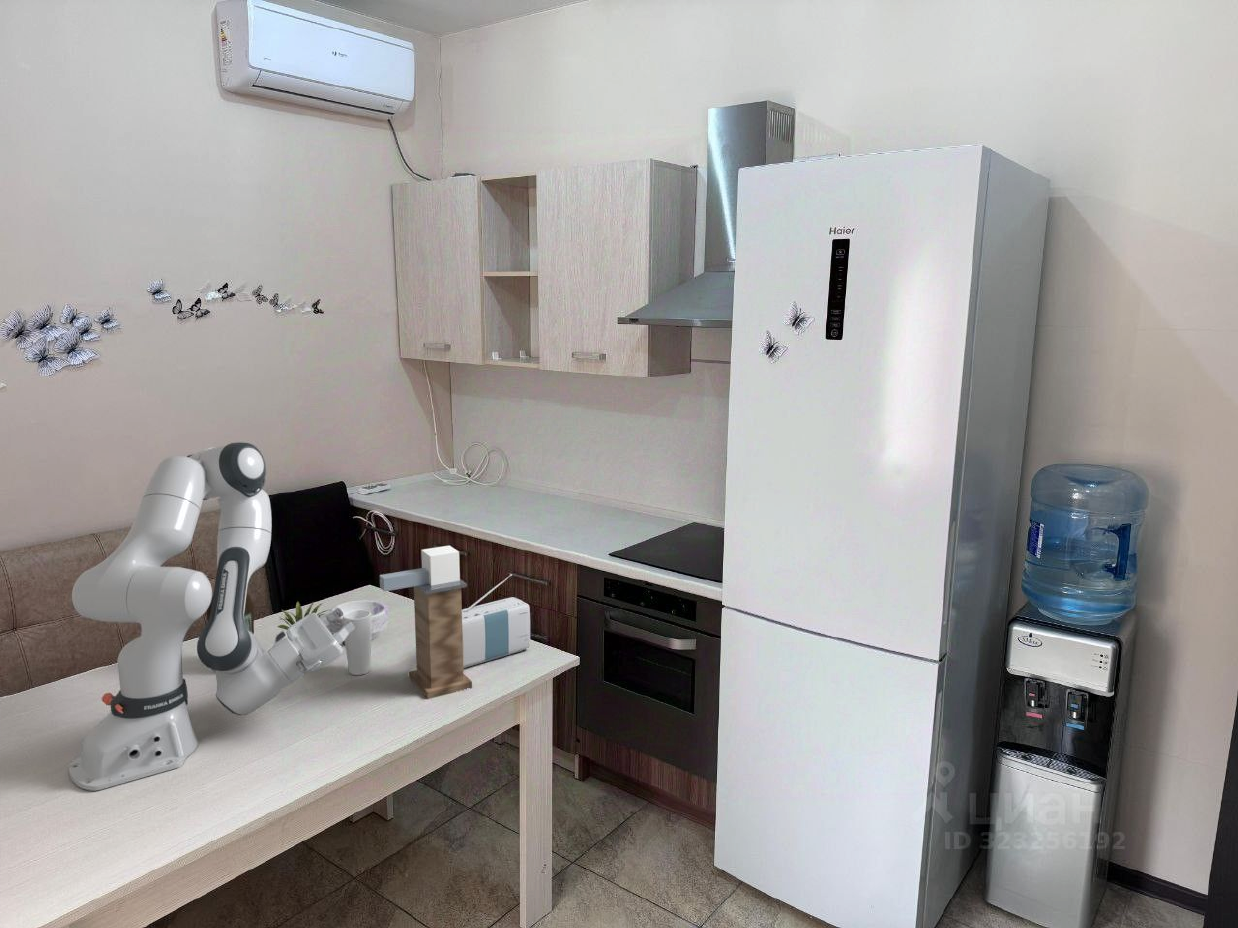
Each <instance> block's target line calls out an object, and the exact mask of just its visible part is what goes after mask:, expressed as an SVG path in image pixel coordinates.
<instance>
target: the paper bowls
mask: <svg viewBox="0 0 1238 928" xmlns="http://www.w3.org/2000/svg"><path fill="white" fill-rule="evenodd" d="M336 608H340V609H341V611H342V612H343V615H344V614H345V613H346V612H349V611H352V610H367V611H370V612H371V619H372V640H373V639H375V638H376V637H378V636H379V635H380V633H381V631H383V630H385V629H386V627H387V626H388V623H389V622H388V621H389V617H388V615H389V609H388V606H387V605H386V604H384V603H382V602H380V601H376V600H369V599H368V600H367V599H366V600H365V599H364V600H363V599H360V600H352V601H345V602H341V603H338V604H337V605H335V606H333V607H332V608H331V609H329V612H332V611H333V610H335V609H336ZM332 609H333V610H332ZM329 628H330V629H329V630H330V632H331V633H333V634H335V633H336V632H337V633H338V632H339V631H340V630H341V629H342V628H343V616H341V617H340V618H339V619H337V618H336V619H334V620H333V621H331V622H330V624H329ZM343 642H345V640H344V641H343Z"/></svg>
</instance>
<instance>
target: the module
mask: <svg viewBox="0 0 1238 928" xmlns="http://www.w3.org/2000/svg"><path fill="white" fill-rule="evenodd" d="M420 553H421V554H420V555H421V568H415V569H409V570H408V569H407V570H403V571H398V572H396V571H395V572H392V573H391V572H390V573H385V574H384V573H383V574H380V575H379V588H380V589H381V590H382V591H383V592H389V591H394V590H395V591H396V590H400V589H406V588H407V589H408V588H412V587H413V588H414V586H418V585H424V584H430V585H437V584H442V583H448V582H454V581H459V580H460V579H461V578H460V577H461V574H460V573H461V572H460V551H459V550H457V549H455V548H454V547H453V546H451V545H449V544H448V545H444V546H437V547H431V548H430V547H429V548H424V549H421V552H420Z"/></svg>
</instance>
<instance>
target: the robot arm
mask: <svg viewBox="0 0 1238 928" xmlns="http://www.w3.org/2000/svg"><path fill="white" fill-rule="evenodd" d="M266 469H267V468H266V461H265V457H264V455H263V454H262V452H261V451H260V450H259V448H257V446H256V445H254V444H252V443H249V442H242V441H241V442H237V441H236V442H230V443H228V444H226V445H225V444H224V445H220V446H215V447H209V448H206V449H204V450H203V449H202V450H201V451H198V452H196V453H193V454H188V455H187V456H185V455H173V456H168V457H166V458H165V459H163V460H162V461H160V462H159V464H158V465H157V467H156V469H155V470H154V472H153V474H152V476H151V478H150V479H149V481H148V483H147V486H146V488H145V491H144V493H143V495H142V498H141V501H140V504H139V507H138V510H137V512H136V515H135V518H134V520H133V523H132V525H131V528H130V530H129V531H128V533H127V535H126V536H125V538H124V540H123V541H122V542H121V543H120V544H119V546H118V547H117V548H116V549H115V550H113V552H111V554H110V555H109V556H107V557H106V558H105V559H104V560H103V561H101V562H100V563H98V564H96V565H95V566H93V567H90V568H89V569H87V570H85V571H84V572H83V573H81V574H80V576H79V577H78V578H77V579H76V581H75V583H74V585H73V587H72V590H71V600H72V604H73V605H72V606H74V609H75V611H76V612H77V614H78V615H79V616H81V617H83V618H87V619H90V620H95V621H99V622H104V623H137V624H140V627H141V634H140V636H138V637H136V638H134V639H132V640H131V641H128V643H126V644H125V645H124V646H123V647H122V649H121V650H120V652H119V654H118V656H117V670H118V678H119V679H118V680H119V681H118V682H119V688H120V690H119V691H118V692H117V694H116V695H113V693H111V692H106V693H104V694H103V695H102V697H101V701H102V703H104V704H105V705H106V706H110V713H109V714H107V716H105V717H104V718H103V719H102V720H101V721H100V722H99V723H98V724H97V725H95V727H94V728H93V729H91V730H90V731H89V732H88V733H87V734H85V737H84V739H83V741H82V744H81V752H80V756H79V757H76V758H75V759H72V760H71V762H70V763H69V766H68V775H69V778H70V779H71V781H72V783H74V784H75V785H76V786H77V787H78V788H80V789H84V790H88V791H95V792H97V791H101V790H104V789H108V788H110V787H111V788H112V787H115V786H118V785H121V784H125V783H129V782H131V781H135V780H139V779H143V778H145V777H149V776H152V775H157V774H160V773H164V772H167V771H171V770H175V769H177V768H179V767H181V766H182V765H183V763H184V762H185V759H186V758H187V757H188V756H190V755H191V754H192V753H193V752H194V751H196V749H197V747H198V744H199V740H198V737H197V736H196V734H195V731H194V729H193V726H192V723H191V719H190V716H189V715H190V714H189V712H188V701H189V699H188V698H189V695H188V687H187V682H186V679H185V678H184V675H183V658H182V657H183V656H182V655H183V653H182V651H183V649H182V648H183V643H184V639H185V636H186V633H187V632H188V630H189V629H190V627H191V626H192V625H193V624H194V623H195V622H197V620H199V619H200V618H201V617H202V616H203V615H205V613H206V611H207V609H208V607H209V605H210V603H211V599H212V596H213V600H212V607H211V613H210V617H209V620H207V622H206V624H205V626H204V628H202V631H201V633H200V635H199V637H198V640H197V644H196V652H197V656H198V659H199V660H200V662H201V663H202V665H204V666H205V667H206V668H209V669H210V670H212V671H215V677H216V678H215V679H216V692H215V698H216V699H217V701H218V702H219V703H220V704H221V705H222V707H224V708H225V709H226V710H227V711H229V712H231V714H234V715H237V716H240V717H241V716H247V715H250V714H251V713H254V712H255V711H257V710H259V709H260V708H261V707H263V706H265V705H266V704H267V703H269V702H271V700H272V699H274V698H275V697H277V696H278V694H279V693H280V692H281V690H283V689H284V688H286V687H288V686H291V685H292V684H293V683H295V682H297V680H299V679H300V678H301V677H303V676H304V675H305V674H307V673H311V672H317V671H319V670H321V669H323V668H324V667H326V666H328V665H329V664H331V663H333V662H334V661H335V660H337V659H338V658H339V657H340V656H341V655H342V654H343V652H344V648H343V647H342V645H340V644H342V643H343V642H345V641H344V640H345V639H346V637H347V636H348V634H349V633H350V632H351V631H353V630H354V629H355V626H354V625H353V624H352V623H351V622H350V621H348V622H347V623H345V624H344V625H343V626H344V627H343V628H342V629H341V630H340V631H339V632H338V633H337V632H336V633H333V634H332V631H331V630H330V629H329V627H328V625H330V622H331V621H333V620H334V619H336V618H337V619H339V618H340V617H341V616H343V612H342V611H341V609H340V608H336V609H335V610H333V611H332V612H330V611H328V612H327V613H323V614H324V615H321V617H320V616H319V615H317V614H318V613H317V612H316V613H311V612H310V613H309V614H308V615H307V616H305V617H304V616H302V619H300V620H299V621H297V622H296V621H295V624H293V625H291V627H290V626H288V627H289V628H288V630H285V629H282V630H281V631H280V632H278V633H277V634H276V635H275V640H274V644H273V645H272V647H270V649H268V650H267V651H266V652H265V651H263V648H262V646H261V642H260V641H259V638H258V637H257V635H255V633H254V634H253V633H251V632H250V631H249V630H247V628H246V625H245V622H244V610H245V602H246V594H248V585H249V582H250V579H251V576H253V574H254V573H255V572H257V571H258V570H260V569H261V568H262V567H264V565H265V564H266V563H267V560H268V556H269V553H270V549H271V548H270V547H271V543H272V542H271V541H272V527H273V526H272V519H273V518H272V508H271V507H272V506H271V501H270V497H269V494H268V493H267V492H266V491H265V490H264V489H263V488H264V487H265V484H266V473H267V470H266ZM214 498H217V502H218V506H219V507H220V517H219V523H218V531H217V543H216V545H217V546H216V558H217V559H216V561H217V562H216V574H215V575H216V576H215V582H214V588H213V587H212V585H211V582H210V581H211V580H209V578H208V576H207V575H206V574H205V573H203V572H202V571H200V570H199V571H198V570H194V569H191V568H186V567H185V568H184V567H181V566H162V565H163V564H164V563H165V562H167V561H168V560H169V559H171V558H173V557H176V556H177V555H179V554H182V553H183V552H185V550H187V549H188V547H189V546H190V544H191V543H192V540H193V538H194V537H193V536H194V533H195V530H196V525H197V523H198V520H199V516H200V513H201V509H202V505H203V502H204V501H206V500H210V499H214ZM212 588H213V589H212ZM318 616H319V617H318ZM326 626H327V627H326Z"/></svg>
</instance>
